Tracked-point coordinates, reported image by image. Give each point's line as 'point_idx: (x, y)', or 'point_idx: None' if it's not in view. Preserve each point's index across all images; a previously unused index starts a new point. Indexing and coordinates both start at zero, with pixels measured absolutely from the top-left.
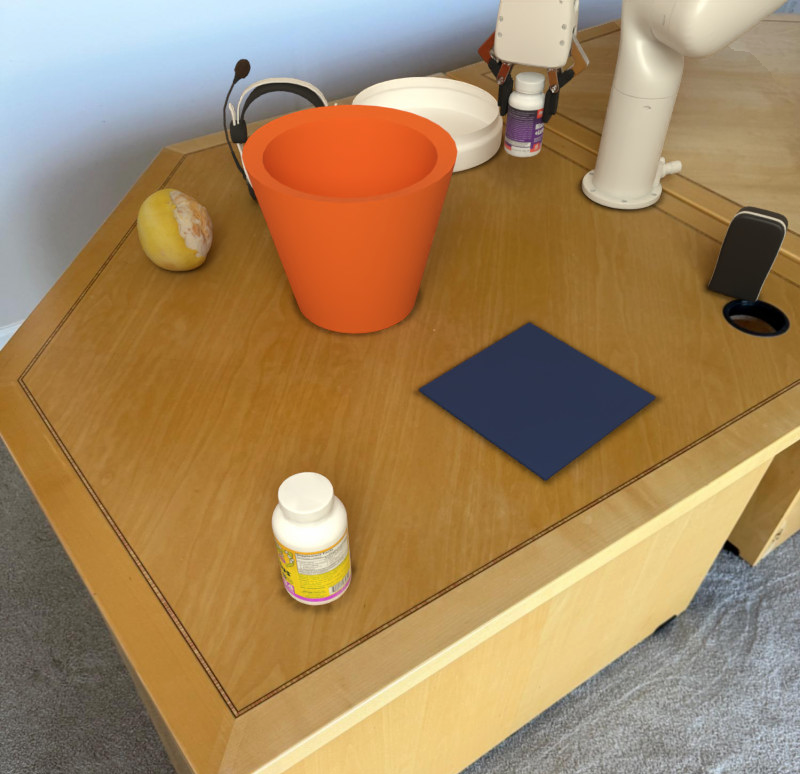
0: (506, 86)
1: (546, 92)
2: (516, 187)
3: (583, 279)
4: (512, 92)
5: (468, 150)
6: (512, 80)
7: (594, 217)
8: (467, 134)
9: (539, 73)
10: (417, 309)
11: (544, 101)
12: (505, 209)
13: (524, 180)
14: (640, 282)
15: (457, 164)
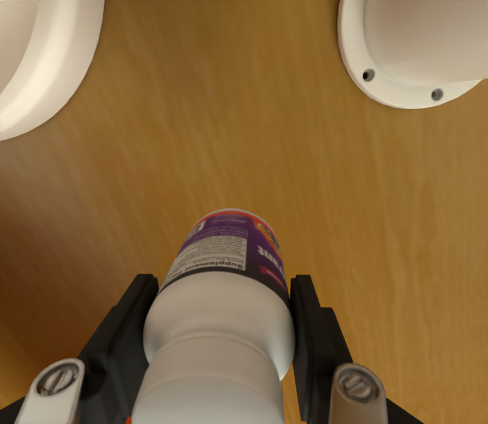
0: (122, 414)
1: (303, 418)
2: (209, 99)
3: (375, 317)
4: (148, 356)
5: (63, 64)
6: (115, 363)
7: (375, 152)
8: (28, 45)
9: (235, 383)
10: None
11: (290, 364)
12: (220, 188)
13: (214, 60)
14: (453, 298)
15: (67, 90)
